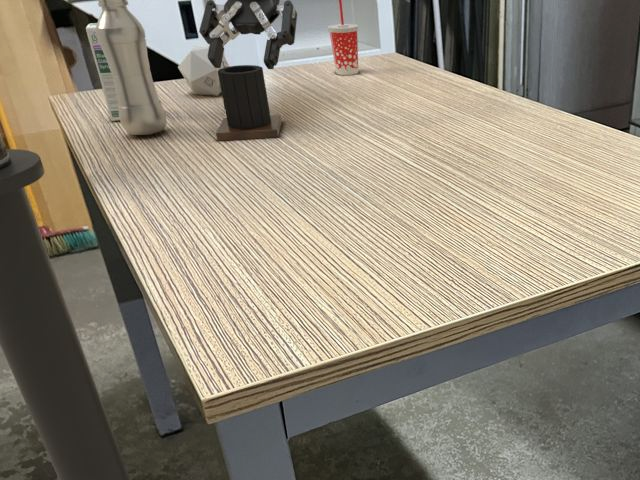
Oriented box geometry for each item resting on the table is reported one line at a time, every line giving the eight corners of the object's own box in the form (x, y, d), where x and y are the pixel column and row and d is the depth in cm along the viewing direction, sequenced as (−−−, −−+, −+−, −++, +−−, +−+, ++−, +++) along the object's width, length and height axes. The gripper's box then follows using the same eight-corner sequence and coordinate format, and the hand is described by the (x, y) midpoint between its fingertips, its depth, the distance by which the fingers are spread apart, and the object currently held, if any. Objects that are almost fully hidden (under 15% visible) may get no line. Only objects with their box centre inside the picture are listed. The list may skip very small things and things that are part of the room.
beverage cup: (366, 73, 147) (360, -2, 139) (339, 77, 144) (331, 1, 137) (355, 68, 151) (348, -4, 144) (328, 71, 149) (320, -2, 141)
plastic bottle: (177, 132, 111) (144, -10, 100) (136, 142, 107) (96, -5, 96) (157, 125, 114) (123, -13, 104) (116, 134, 110) (76, -8, 99)
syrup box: (110, 122, 117) (83, 26, 109) (116, 113, 122) (91, 21, 114) (147, 119, 118) (123, 24, 110) (151, 111, 123) (129, 19, 115)
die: (195, 105, 129) (221, 56, 125) (161, 75, 130) (186, 27, 127) (225, 111, 137) (249, 66, 133) (192, 83, 138) (216, 38, 134)
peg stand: (217, 141, 107) (206, 84, 102) (224, 125, 114) (214, 71, 110) (278, 137, 108) (269, 81, 103) (281, 122, 115) (273, 69, 111)
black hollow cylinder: (226, 130, 107) (215, 74, 103) (231, 119, 113) (221, 66, 108) (269, 127, 108) (260, 72, 104) (272, 116, 113) (263, 64, 109)
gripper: (204, -46, 107) (184, 49, 104) (293, -46, 105) (277, 50, 102) (226, -10, 114) (208, 79, 111) (310, -10, 112) (295, 81, 109)
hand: (241, 65), depth 106 cm, fingers open, 8 cm apart
